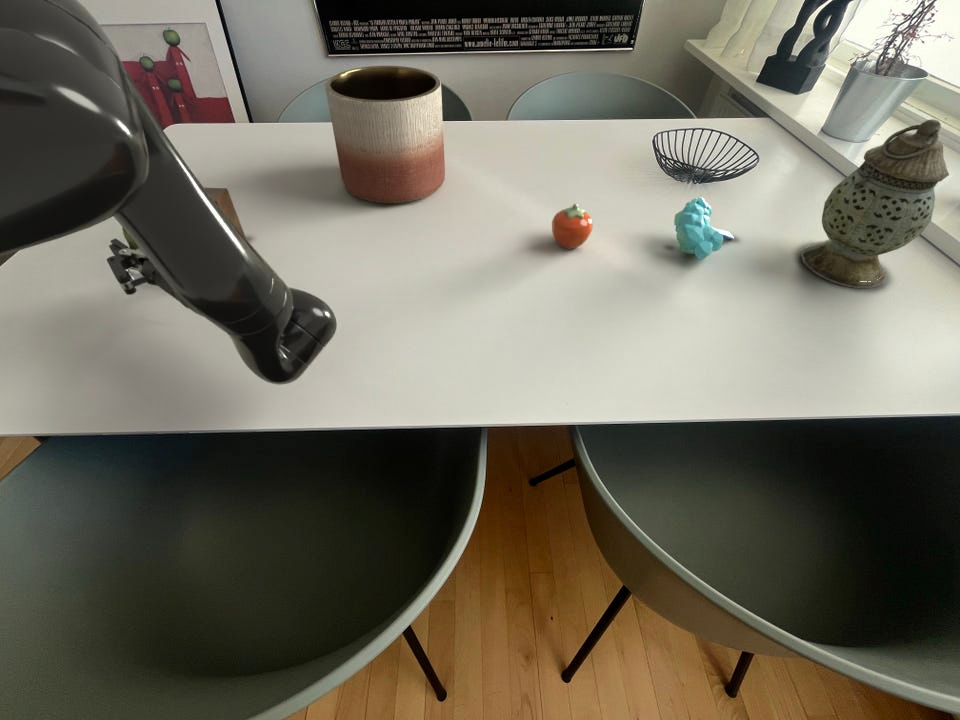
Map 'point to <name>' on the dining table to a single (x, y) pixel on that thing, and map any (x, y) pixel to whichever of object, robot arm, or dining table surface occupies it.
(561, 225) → the tomato
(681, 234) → the turquoise faceted lumpy piece
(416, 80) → the planter
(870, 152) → the lantern
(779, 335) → the dining table surface
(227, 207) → the block far
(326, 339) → the robot arm
